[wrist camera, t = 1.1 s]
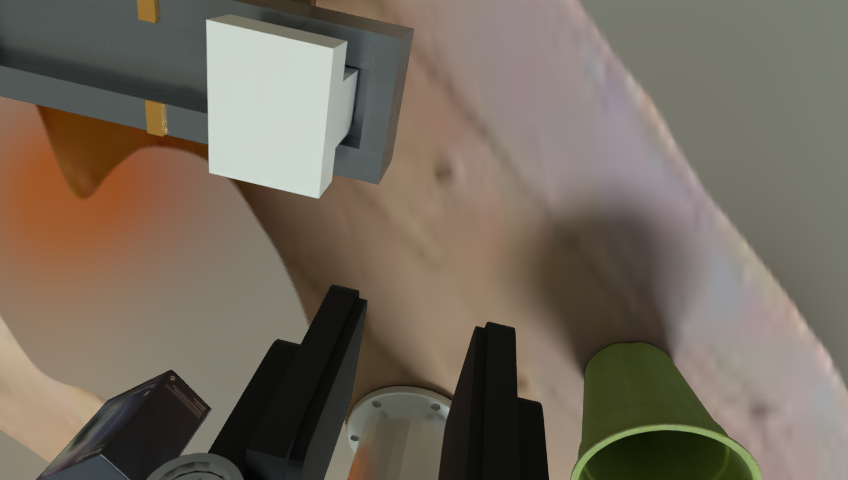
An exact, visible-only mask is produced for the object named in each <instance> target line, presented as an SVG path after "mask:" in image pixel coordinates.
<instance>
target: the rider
mask: <svg viewBox="0 0 848 480" xmlns="http://www.w3.org/2000/svg"><path fill="white" fill-rule="evenodd" d="M206 31H207V87H208V143H209V173H212V174H216V175H220V176H224V177H229V178H233V179H237V180H241V181H246V182H250V183H254V184H258V185H263V186H267V187H271V188H275V189H280V190H284V191H288V192H292V193H297V194H301V195H305V196H309V197H314V198H318V199H319V198H320V196H321V195H322V194H323V192H324V191H325V190H326V188H327V187H328V186H329V184H330V183H331V182H332V174H333V165H334V156H335V148H336V147H337V145H338V144H339V143H340V142H341V141H342V140H343V138H344V137H345V136H346V135H347V134H348V133H349V132H350V130H351V123H352V115H353V107H354V99H355V91H356V83H357V75H358V70H356V69H352V68H347V67H345V58H346V49H347V41H345V40H341V39H337V38H332V37H328V36H323V35H319V34H315V33H310V32H306V31H302V30H297V29H293V28H288V27H284V26H280V25H275V24H271V23H266V22H262V21H258V20H253V19H249V18H244V17H240V16H236V15H231V14H229V15H225V16H220V17H216V18H211V19H207V20H206Z"/></svg>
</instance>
